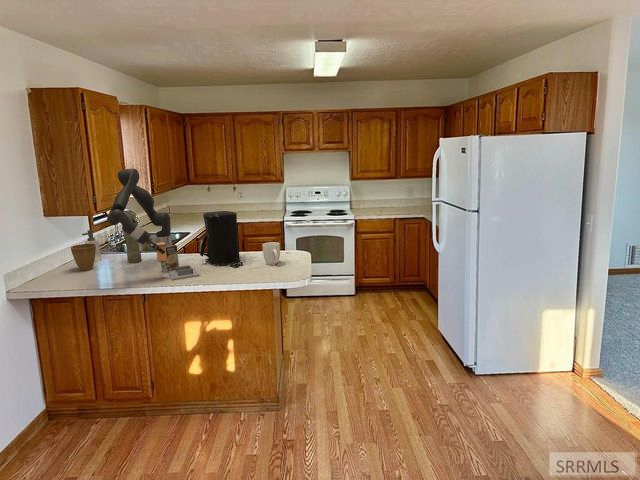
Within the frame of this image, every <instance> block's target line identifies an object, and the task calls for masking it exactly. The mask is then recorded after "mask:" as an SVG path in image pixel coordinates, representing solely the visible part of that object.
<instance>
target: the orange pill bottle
mask: <svg viewBox="0 0 640 480" xmlns="http://www.w3.org/2000/svg"><path fill="white" fill-rule="evenodd" d="M156 243H157V242H156ZM157 244H158V246H159V247H160V248H161V249H163V250H164V251H165V253H164V254H162V253H160V252H159V251H156V256H157V261H158V262H161V261H164V260H167V255H166V245H165V243H164V242H162V243H157ZM156 248H157V247H156Z"/></svg>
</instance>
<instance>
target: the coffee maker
mask: <svg viewBox="0 0 640 480" xmlns="http://www.w3.org/2000/svg"><path fill="white" fill-rule="evenodd" d="M237 215H238V213H237V212H234V211H230V210H229V211H228V210H218V211H209V212H203V215H202V217H203V222H204V228H205V235H204V236H203V237H202V238H201V240H200V244H199V256H201V257H204V256H205V257H207V258H205V262H207V263H208V264H209V265H210V264H211V265H214V266H219V267H221V266H222V267H225V266H229V267H232V268H237V267H240V266H243V265H244V262H243V261H241V259H240V248H239V239H238V219H237ZM206 243H207V244H206ZM206 248H207V253H205V249H206Z"/></svg>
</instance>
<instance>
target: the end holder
mask: <svg viewBox="0 0 640 480" xmlns="http://www.w3.org/2000/svg"><path fill="white" fill-rule="evenodd" d="M175 268H176V270H174V271H169V272H168V274H169V277H170V279H171V281H177V280H184V279H189V278H190V279H191V278H198V277H200V273H199V271H198V270H197V269H196V267H192V265H190V264H189V265H183V266H179V267H175Z"/></svg>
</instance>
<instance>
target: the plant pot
mask: <svg viewBox="0 0 640 480" xmlns="http://www.w3.org/2000/svg"><path fill="white" fill-rule="evenodd" d="M70 252H71V254H72V257H73V259H74V262H75V263H76V266H77V267H78V269H79V271H82V272H84V271H85V272H86V271H91V270H93V268H94V265H95V262H94V260H95V252H96V244H85V243H79V244H75V245H72V246H70Z"/></svg>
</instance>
